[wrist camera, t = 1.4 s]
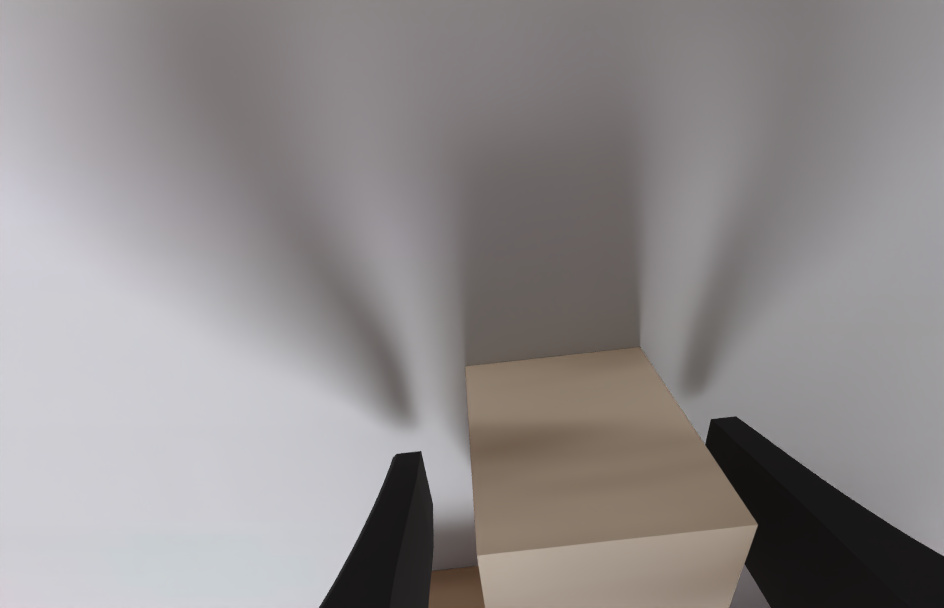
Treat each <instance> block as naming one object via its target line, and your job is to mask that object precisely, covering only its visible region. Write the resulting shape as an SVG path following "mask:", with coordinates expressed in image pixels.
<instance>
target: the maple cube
mask: <svg viewBox="0 0 944 608" xmlns="http://www.w3.org/2000/svg"><path fill="white" fill-rule="evenodd" d="M465 372H466V388H467V405H468V421H469V437H470V453H471V469H472V485H473V501H474V517H475V533H476V549H477V559H478V566H479V572H480V578H481V585H482V591H483V597H484V603H485V608H729V607H730V604H731V601H732V598H733V595H734V592H735V589H736V587H737V584H738V581H739V578H740V575H741V572H742V569H743V566H744V564H745V561H746V558H747V555H748V552H749V549H750V546H751V543H752V541H753V538H754V535H755V532H756V529H757V526H758V524H757V522H756V521H755V519H754V518H753V516H752V515H751V513H750V512H749V510H748V509H747V507H746V506H745V504H744V503H743V501H742V500H741V498H740V497H739V495H738V494H737V492H736V491H735V489H734V488H733V486H732V485H731V483H730V482H729V480H728V479H727V477H726V476H725V474H724V473H723V471H722V470H721V468H720V467H719V465H718V464H717V462H716V461H715V459H714V458H713V456H712V455H711V453H710V452H709V450H708V449H707V447H706V446H705V444H704V443H703V441H702V440H701V438H700V437H699V435H698V434H697V432H696V431H695V429H694V428H693V426H692V425H691V423H690V422H689V420H688V419H687V417H686V415H685V414H684V412H683V411H682V409H681V408H680V406H679V405H678V403H677V402H676V400H675V399H674V397H673V396H672V394H671V393H670V391H669V390H668V388H667V387H666V385H665V384H664V382H663V381H662V379H661V378H660V376H659V375H658V373H657V372H656V370H655V369H654V367H653V366H652V364H651V363H650V361H649V360H648V358H647V357H646V355H645V354H644V352H643V351H642V349H641V348H640V347H635V348H626V349H617V350H608V351H599V352H590V353H581V354H572V355H563V356H554V357H545V358H536V359H527V360H518V361H509V362H500V363H491V364H482V365H473V366H465Z"/></svg>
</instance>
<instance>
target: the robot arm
mask: <svg viewBox="0 0 944 608" xmlns="http://www.w3.org/2000/svg"><path fill="white" fill-rule="evenodd" d="M705 446H706V447H707V449H708V450H709V452H710V453H711V455H712V456H713V458H714V459H715V461H716V462H717V464H718V465H719V467H720V468H721V470H722V471H723V473H724V474H725V476H726V477H727V479H728V480H729V482H730V483H731V485H732V486H733V488H734V489H735V491H736V492H737V494H738V495H739V497H740V498H741V500H742V501H743V503H744V504H745V506H746V507H747V509H748V510H749V512H750V513H751V515H752V516H753V518H754V519H755V521H756V522H757V524H758V526H757V529H756V532H755V535H754V538H753V541H752V543H751V546H750V549H749V552H748V555H747V558H746V561H745V565H746V567H747V568H748V570H749V572H750V573H751V575H752V577H753V578H754V580H755V582H756V583H757V585H758V587H759V588H760V590H761V592H762V593H763V595H764V597H765V598H766V600H767V602H768V603H769V605H770V607H771V608H944V556H942V555H940V554H939V553H937V552H935V551H934V550H932V549H930V548H928V547H927V546H925V545H923V544H922V543H920V542H918V541H916V540H915V539H913V538H911V537H910V536H908V535H907V534H905V533H903V532H902V531H900V530H898V529H897V528H895V527H894V526H892V525H890V524H889V523H887V522H886V521H884V520H883V519H881V518H880V517H878V516H877V515H875V514H873V513H872V512H870V511H869V510H867V509H866V508H864V507H863V506H861V505H860V504H858V503H856V502H855V501H854V500H852V499H851V498H849V497H848V496H846V495H845V494H843V493H842V492H840V491H839V490H837V489H836V488H834V487H833V486H831V485H830V484H829V483H827V482H826V481H824V480H823V479H821V478H820V477H819V476H817V475H816V474H814V473H813V472H812V471H810V470H809V469H807V468H806V467H805V466H803V465H802V464H800V463H799V462H798V461H796V460H795V459H793V458H792V457H791V456H789V455H788V454H787V453H785V452H784V451H783V450H781V449H780V448H778V447H777V446H776V445H774V444H773V443H772V442H770V441H769V440H768V439H766V438H765V437H763V436H762V435H761V434H759V433H758V432H757V431H755V430H754V429H753V428H751V427H750V426H748V425H747V424H746V423H744V422H743V421H741V420H740V419H739V418H737V417H727V418H718V419H711V422H710V426H709V431H708V435H707V440H706V444H705ZM432 560H433V503H432V498H431V494H430V489H429V485H428V480H427V476H426V471H425V467H424V462H423V458H422V453H421V451H419V452H410V453H401V454H396V455H395V456H394V457H393V459H392V462H391V465H390V468H389V470H388V473H387V476H386V478H385V481H384V483H383V485H382V488H381V490H380V493H379V495H378V497H377V499H376V502H375V504H374V506H373V508H372V510H371V513H370V515H369V517H368V519H367V521H366V523H365V525H364V527H363V529H362V531H361V533H360V535H359V537H358V539H357V541H356V543H355V545H354V547H353V549H352V551H351V553H350V554H349V556H348V558H347V560H346V562H345V564H344V565H343V567H342V569H341V571H340V573H339V575H338V577H337V578H336V580H335V582H334V584H333V585H332V587H331V589H330V590H329V592H328V594H327V595H326V597H325V599H324V600H323V602H322V604H321V605H320V607H319V608H428V606H429V595H430V583H431V571H432Z"/></svg>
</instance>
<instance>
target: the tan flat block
mask: <svg viewBox="0 0 944 608" xmlns="http://www.w3.org/2000/svg"><path fill="white" fill-rule="evenodd" d="M428 608H485V603H484V597H483V591H482V585H481V578H480V572H479V566H473V567H464V568H456V569H447V570H438V571H431V583H430V595H429V606H428Z"/></svg>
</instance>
